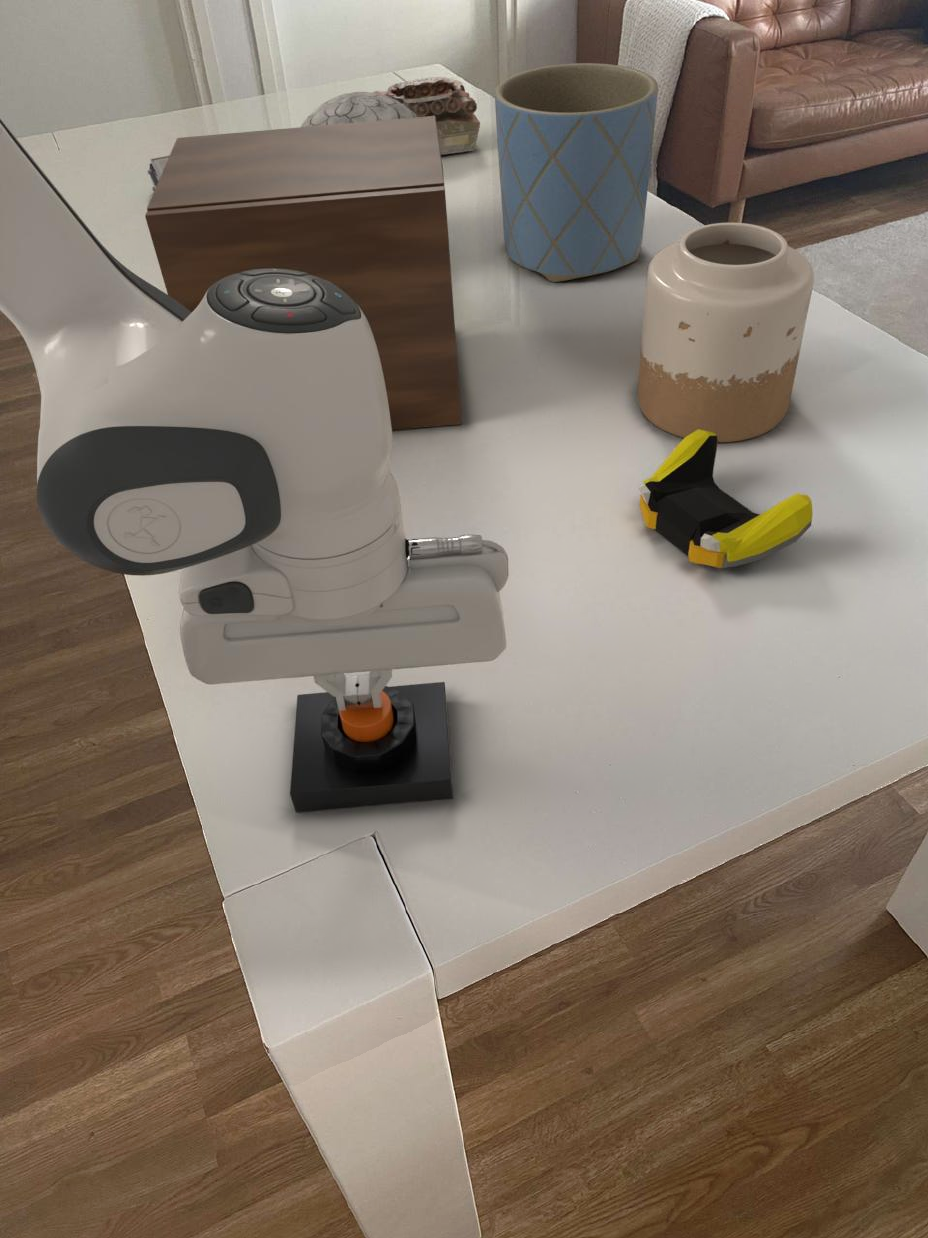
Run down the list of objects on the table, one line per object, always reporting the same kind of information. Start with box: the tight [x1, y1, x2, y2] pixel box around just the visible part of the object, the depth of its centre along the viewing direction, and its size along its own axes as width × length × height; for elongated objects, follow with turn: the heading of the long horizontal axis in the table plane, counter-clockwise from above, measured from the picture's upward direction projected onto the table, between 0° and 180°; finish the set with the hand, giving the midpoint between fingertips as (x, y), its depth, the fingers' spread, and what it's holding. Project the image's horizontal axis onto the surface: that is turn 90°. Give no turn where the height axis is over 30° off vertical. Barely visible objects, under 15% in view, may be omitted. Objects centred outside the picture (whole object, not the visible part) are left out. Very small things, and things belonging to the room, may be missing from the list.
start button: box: [339, 691, 394, 743], centre depth 68 cm, size 4×4×2 cm
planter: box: [494, 62, 659, 283], centre depth 121 cm, size 19×19×20 cm
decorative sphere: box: [300, 91, 445, 179], centre depth 124 cm, size 20×20×20 cm
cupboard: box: [146, 116, 445, 212], centre depth 99 cm, size 18×26×24 cm
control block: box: [289, 681, 454, 813], centre depth 69 cm, size 11×9×4 cm
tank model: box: [372, 76, 481, 156], centre depth 153 cm, size 13×20×10 cm, turn 98°
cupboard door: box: [144, 185, 463, 431], centre depth 90 cm, size 7×26×24 cm, turn 93°
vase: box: [637, 222, 815, 443], centre depth 95 cm, size 15×15×17 cm
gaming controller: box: [638, 429, 813, 570], centre depth 85 cm, size 15×6×10 cm
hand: (360, 702), depth 67 cm, fingers closed
